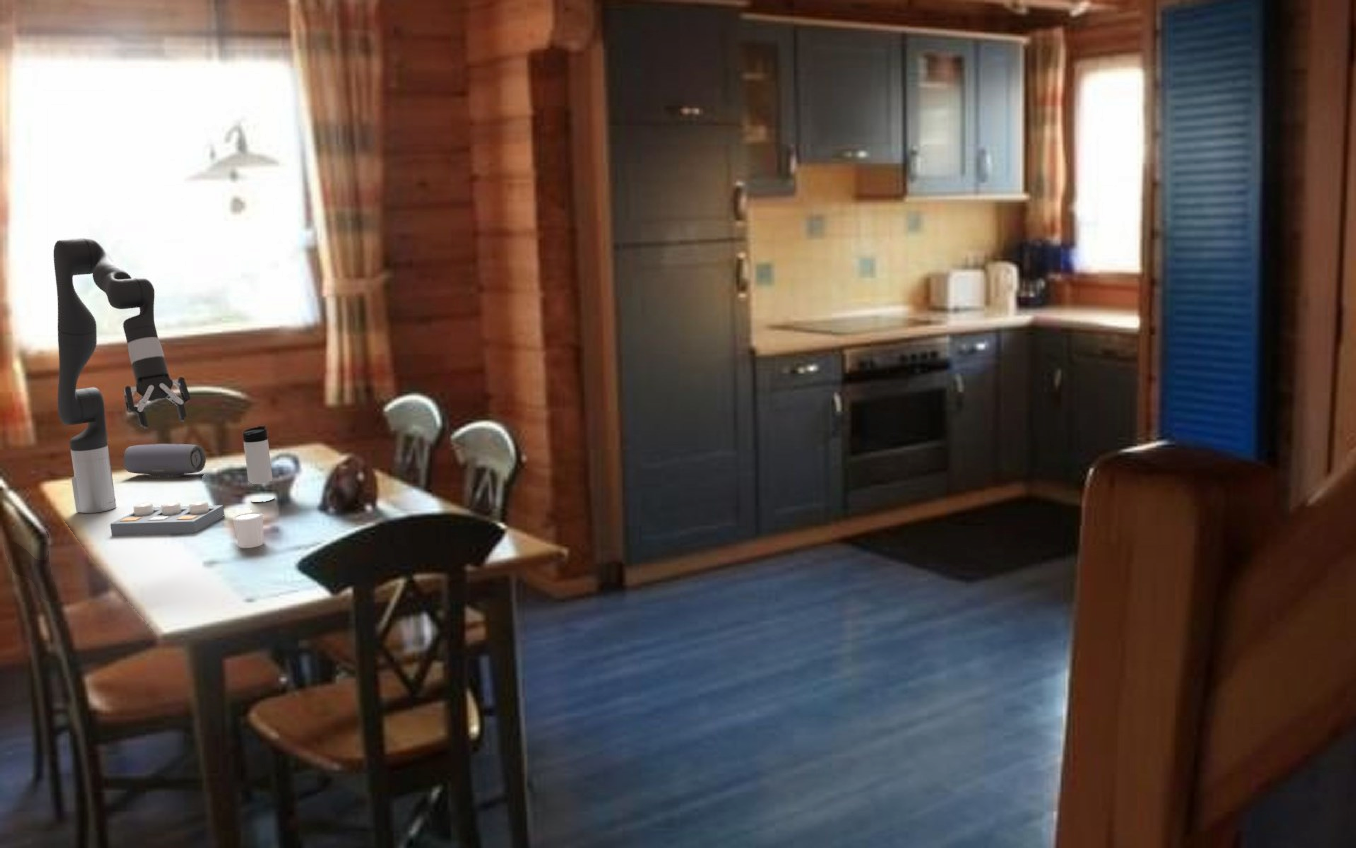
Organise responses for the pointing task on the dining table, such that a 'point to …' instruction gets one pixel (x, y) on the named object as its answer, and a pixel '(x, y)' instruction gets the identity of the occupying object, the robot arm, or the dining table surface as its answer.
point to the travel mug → (257, 455)
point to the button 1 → (143, 509)
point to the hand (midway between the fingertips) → (164, 424)
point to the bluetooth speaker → (164, 459)
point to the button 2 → (199, 508)
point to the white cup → (249, 529)
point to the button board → (166, 522)
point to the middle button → (171, 509)
